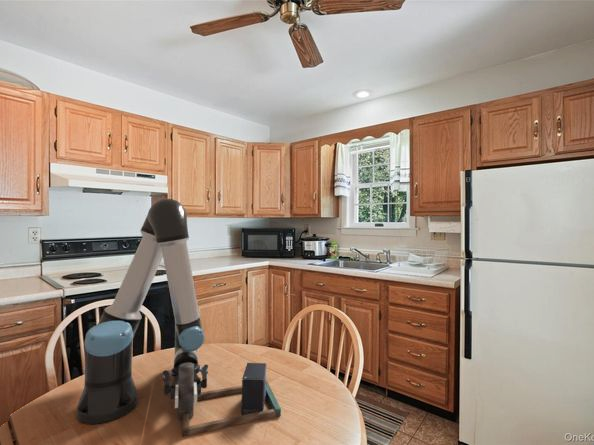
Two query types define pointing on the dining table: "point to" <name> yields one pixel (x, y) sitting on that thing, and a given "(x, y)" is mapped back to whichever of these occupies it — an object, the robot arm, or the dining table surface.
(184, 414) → the post and rail frame
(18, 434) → the dining table surface
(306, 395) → the dining table surface
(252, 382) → the small box
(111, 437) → the dining table surface
